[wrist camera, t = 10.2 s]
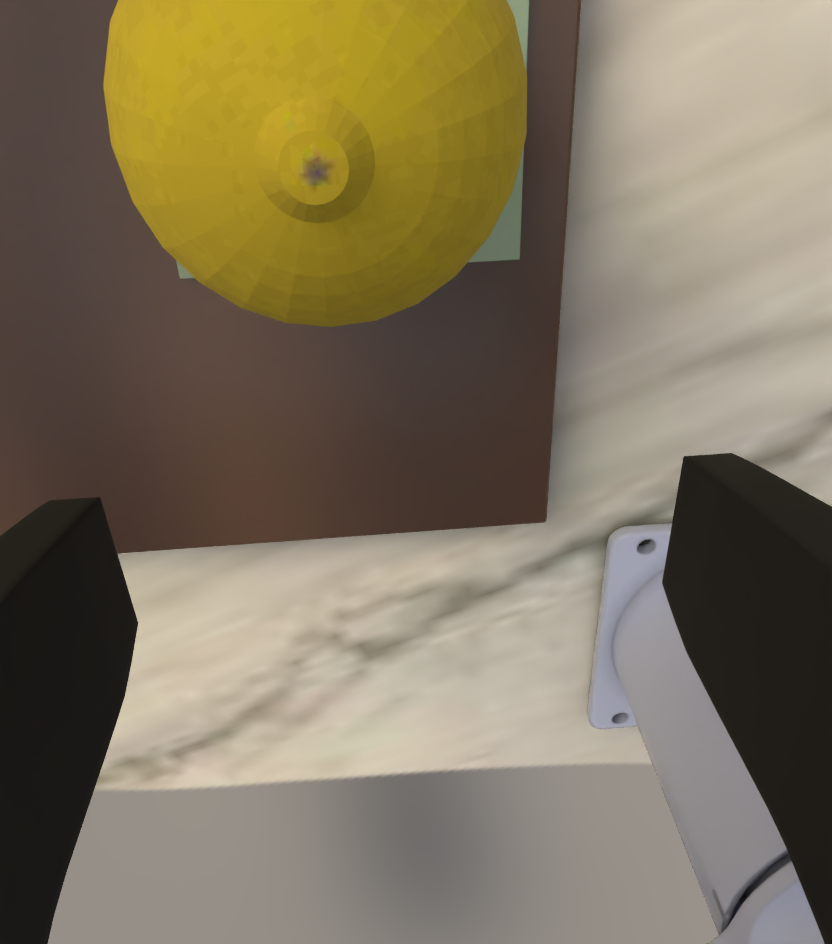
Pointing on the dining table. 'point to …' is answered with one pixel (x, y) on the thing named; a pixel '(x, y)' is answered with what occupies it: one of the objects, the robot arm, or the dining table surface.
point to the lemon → (318, 144)
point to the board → (259, 338)
